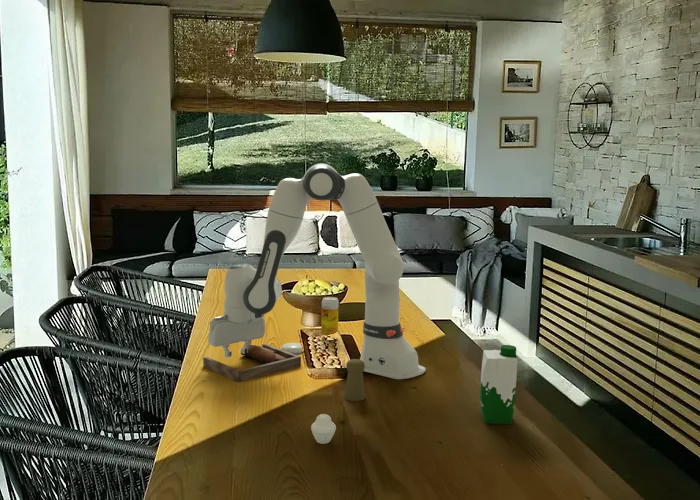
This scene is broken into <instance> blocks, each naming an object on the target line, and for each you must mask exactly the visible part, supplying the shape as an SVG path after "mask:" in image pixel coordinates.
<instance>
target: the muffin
mask: <svg viewBox="0 0 700 500" xmlns="http://www.w3.org/2000/svg"><path fill="white" fill-rule="evenodd" d="M310 429H311V432H312V433H311V434H312V435H313V437H314V439H315V440H316V442H317V443H319V444H321V445H326V444H328V443H330V442H331V440H332V439H333V436H334V435H335V432H336V430H337V425H336V424H335V423H334V422H333V421H332V418H331V416H330V415H328V414H327V413H326V414H325V413H321V414H319V415H317V416H316V419H315V421H314V422H313V423H312V424H311V425H310Z"/></svg>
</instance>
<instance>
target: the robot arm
mask: <svg viewBox="0 0 700 500" xmlns="http://www.w3.org/2000/svg"><path fill="white" fill-rule="evenodd" d="M272 195H273V196H272V198H271V201H270V204H269V207H268V211H267V217H266V223H265V231H264V237H263V238H264V239H263V244H262V245H263V246H262V250H261V253H260V257H259V261H258V264H257V268H255V267H253V266H252V264H249V263H236V264H234V265H231V266H229V268H228V269H227V270H226V273H225V278H224V295H225V298H224V299H225V300H224V301H223V302H224V303H223V315H221V316H215V317H213V319H211V321H210V322H209V330H208V336H207V337H208V338H207V342H208V344H209V345H210V346H212V347H215V348H216V347H221V348H222V349H223V351H224V357H226V358H231V357H232V352H233V351H231V350H230V349H229V348H230V345H231V344H237V343H241V342H244V345H243V346H244V347H243V346H242V347H241V349H240V354H241V353H243V354H246V353H248V348H249V346H250V345H252V340H257V339H262V338H263V337H265V333H266V321H265V319H264V317H265V314H268V313H270V312H271V311H272V310H273V308H274V307H275V305H276V303H277V302H278V300H279V298H280V297H281V296H282V292H283V287H282V284H281V282H280V280H279V279H278V277H277V275H278V272H279V268H280V265H281V260H282V258H283V256H284V254H285V252H286V250H287V249H288V247H290V245H291V244H292V242H293V241H294V240H295V239H296V237H297V235H298V233H299V230H300V228H301V225H302V223H303V218H304V215H305V212H306V208H307V206H308V204H309V203H310V202H311V200H316V201H321V202H323V201H325V202H326V201H334V200H335V201H338V202H339V204H340V206H341V208H342V210H343V213H344V216H345V218H346V221H347V223H348V226H349V228H350V230H351V233H352V235H353V238H354V240H355V242H356V244H357V247H358V249H359V252H360V254H361V256H362V258H363V262H364V284H365V285H364V286H365V287H364V289H365V291H364V293H365V301H364V302H365V304H364V305H365V307H364V308H365V310H364V311H365V312H364V320H363V326H362V329H363V330H362V333H363V340H362V348H361V353H360V357H359V360H362V361H363V362H364V364H365V368H364V371H363V372H365V373H366V372H367V373H371V374H374V375H378V376H381V377H386V378H389V379H394V380H405V379H410V378H415V377H418V376H420V375H421V376H422V375H424V374H425V372H426V369H427V368H426V367H424V366H423V365H420V364H419V355H418V352H417V351H416V349H415V348H414V347H413V346H412V345H411V344H410V342H409V341H408V340H407V339H406V338H405V337H404V336H403V335H404V333H403V332H406V330H405V329H406V327H402V326H401V323H400V308H401V307H400V303H401V295H400V279H401V278H402V276H403V273H404V265H405V264H404V261H403V258H402V256H401V254H400V251H399V248H398V247H397V245H396V243H395V240H394V237H393V236H392V233H391V230H390V229H389V226H388V224H387V222H386V219H385V217H384V214H383V212H382V209H381V206H380V203H379V201H378V199H377V197H376V195H375V193H374V191H373V189H372V187H371V186H370V183H369V182H368V179H366V177H365V176H364V175H363V174H361V173H357V172H356V173H355V172H354V173H349V174H345V175H341V174H339V172H338V171H337V170H336V169H335V168H334V166H332V165H330V164H328V163H325V162H320V163H319V162H318V163H315V164H313V165H311V167H309V168H308V169H307V171H305V173H304V174H303V175H302V176H300V177H299V178H294V177H286V178H282V180H281V179H280V181H279V183H278V184H277V186H276V187H275V190H274V193H273V194H272ZM241 350H242V351H241Z"/></svg>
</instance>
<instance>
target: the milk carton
mask: <svg viewBox="0 0 700 500" xmlns="http://www.w3.org/2000/svg"><path fill="white" fill-rule="evenodd" d="M518 362H519V361H518V357H517V347H516V346H514V345H510V344H504V345H501V346H500V349H499V350H498V349H490V350H488V349H484V350H483V353H482V360H481V371H480V372H481V373H480V390H479V392H480V393H479V404H480V412H481V416H482V419H483V422H484V423H485V424H493V425H494V424H495V425H512V424H513V420H514V419H513V418H514V411H515V406H516V405H515V403H516V390H517V375H518V373H517V372H518Z"/></svg>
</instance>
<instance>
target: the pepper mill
mask: <svg viewBox="0 0 700 500" xmlns="http://www.w3.org/2000/svg"><path fill="white" fill-rule="evenodd" d="M364 368H365V364H364V362H363V361H362V360H360V358H352V359H349V360H348V361H347V362H346V369H347V376H346V384H345V389H344V396H343V398H344V399H345V400H347V401H351V402H360V401H363V400H365V399H366V393H365V391H366V390H365V383H364V373H363V372H365V371H364Z"/></svg>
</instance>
